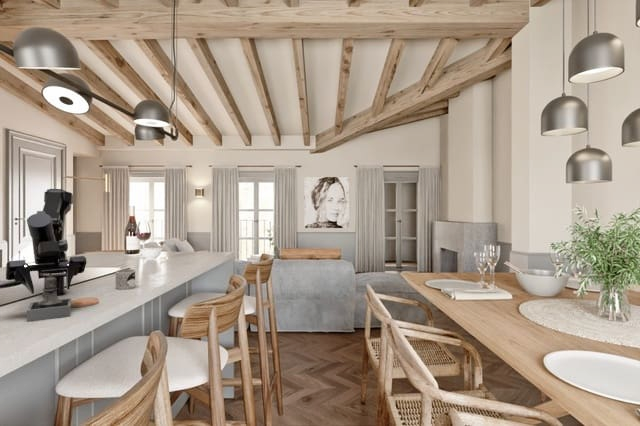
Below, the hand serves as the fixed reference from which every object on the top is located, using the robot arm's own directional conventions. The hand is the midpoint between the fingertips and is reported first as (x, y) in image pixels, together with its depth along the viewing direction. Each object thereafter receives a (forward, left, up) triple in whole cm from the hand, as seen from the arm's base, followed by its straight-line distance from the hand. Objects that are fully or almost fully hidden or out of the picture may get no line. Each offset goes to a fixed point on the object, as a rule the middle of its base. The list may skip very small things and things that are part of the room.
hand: (51, 290), depth 103 cm
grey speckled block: (-31, +22, -7) cm, 39 cm away
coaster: (-10, +8, -7) cm, 15 cm away
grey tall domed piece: (-1, 0, -7) cm, 7 cm away
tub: (-1, 0, -7) cm, 7 cm away
